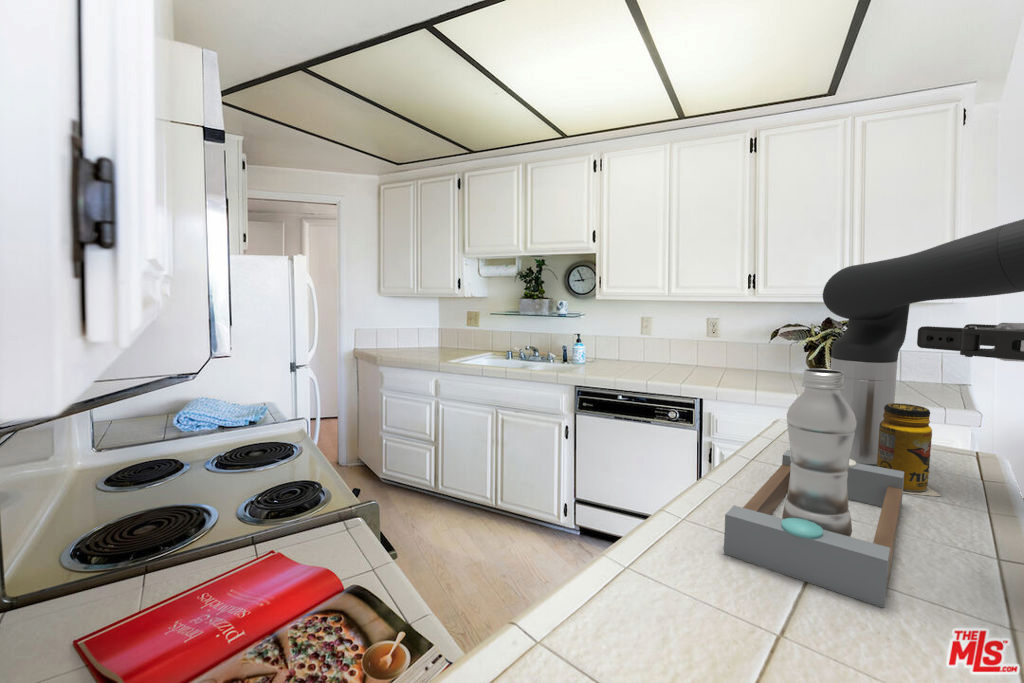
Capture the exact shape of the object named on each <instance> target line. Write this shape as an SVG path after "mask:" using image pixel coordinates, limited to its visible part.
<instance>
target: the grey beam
mask: <svg viewBox="0 0 1024 683" xmlns="http://www.w3.org/2000/svg"><path fill="white" fill-rule="evenodd" d="M781 460H782V461H781V462H782V463H781V465H787V466H790V464H791V460H790V449H787V450H786V451H785V452H784V453H783V454H782V459H781ZM847 471H848V477H847V489H848V501H849V500H850V501H854V502H859V503H863V504H867V505H872V506H877V507H880V508H882V507H883V503H884V499H885V495H886V491H887V487H888V486H889V487H894V488H899V489H902V497H904V496H903V495H904V494H903V483H904V472H903V471H898V470H892V469H887V468H882V467H877V465H872V464H862V463H856V462H855V461H854V460H852V459H849V468H848V470H847ZM902 505H903V499H902V500H901V507H902Z"/></svg>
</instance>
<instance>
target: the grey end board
mask: <svg viewBox="0 0 1024 683" xmlns="http://www.w3.org/2000/svg"><path fill="white" fill-rule="evenodd" d="M723 533H724V534H723V535H724V537H723V538H724V539H723V554H724V555H727V556H730V557H732V558H735V559H738V560H741V561H744V562H748V563H750V564H753V565H756V566H759V567H762V568H765V569H769V570H771V571H772V572H773V571H774V572H776V573H780V574H782V575H786V576H789V577H791V578H795V579H798V580H800V581H802V582H806V583H808V584H813V585H814V586H815V585H816V586H818V587H820V588H824V589H827V590H829V591H833V592H836V593H839V594H841V595H844V596H847V597H850V598H853V599H856V600H859V601H862V602H865V603H869V604H871V605H874V606H877V607H880V608H883V609H885V604H886V598H887V595H888V594H887V593H888V588H887V582H888V569H889V556H890V548H889V547H886V546H882V545H878V544H875V543H873V542H870V541H866V540H863V539H860V538H856V537H852V536H851V537H849V536H845V535H841V534H838V533H834V532H830V531H827V530H823V529H822V528H821V527H820V526H819V525H817V524H815V523H813V522H811V521H808V520H804V519H799V518H786V519H782V517H779V516H774V515H772V514H771V515H768V514H764V513H760V512H757V511H753V510H749V509H746V508H743V507H741V506H737V505H733V506H732V507H731V508H730V509H729V510H727V512H726V513H725V515H724V532H723ZM888 583H889V582H888Z"/></svg>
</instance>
